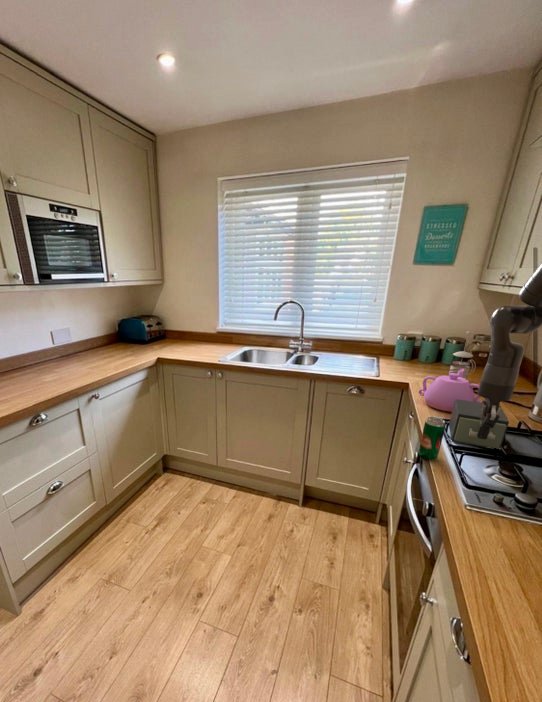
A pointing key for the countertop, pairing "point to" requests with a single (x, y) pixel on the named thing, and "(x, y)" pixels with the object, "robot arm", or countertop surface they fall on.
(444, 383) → the teapot
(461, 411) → the cabinet
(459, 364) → the french press
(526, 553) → the countertop surface
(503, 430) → the drawer
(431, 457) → the soda can
